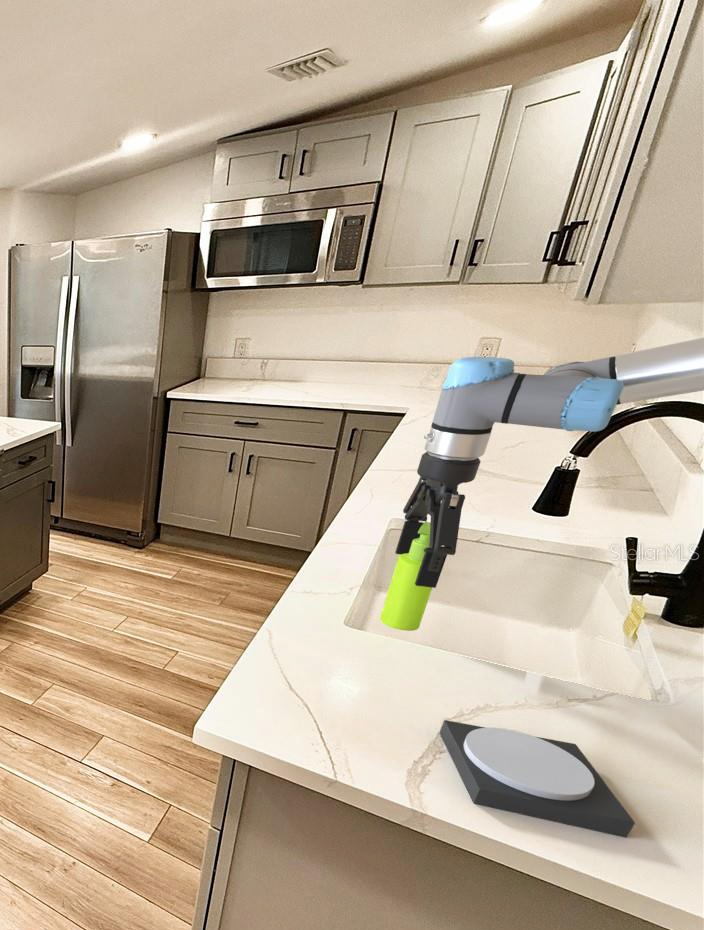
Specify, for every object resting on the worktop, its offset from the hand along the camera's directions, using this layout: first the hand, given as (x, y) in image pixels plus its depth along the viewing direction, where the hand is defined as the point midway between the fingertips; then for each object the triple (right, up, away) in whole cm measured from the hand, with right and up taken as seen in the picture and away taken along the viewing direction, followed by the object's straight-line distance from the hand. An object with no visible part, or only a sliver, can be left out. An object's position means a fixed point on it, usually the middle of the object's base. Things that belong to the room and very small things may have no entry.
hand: (414, 569), depth 110 cm
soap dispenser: (+1, -11, +5) cm, 12 cm away
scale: (-11, -27, -30) cm, 42 cm away
